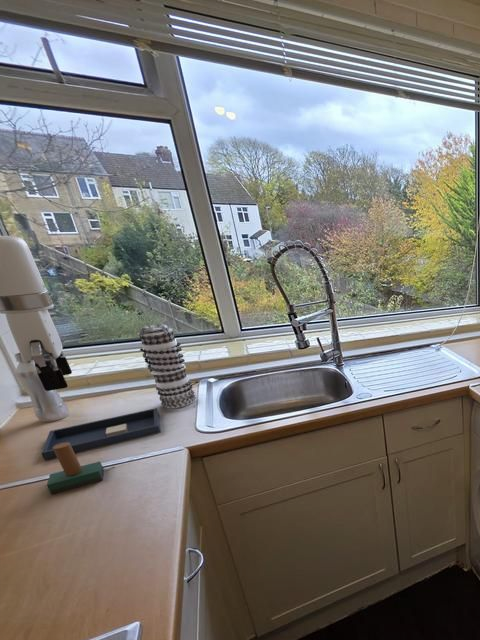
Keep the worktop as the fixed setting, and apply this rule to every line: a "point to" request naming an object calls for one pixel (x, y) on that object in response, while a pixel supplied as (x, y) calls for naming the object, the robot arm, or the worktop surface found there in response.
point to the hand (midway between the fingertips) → (59, 381)
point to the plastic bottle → (40, 393)
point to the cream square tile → (116, 430)
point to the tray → (102, 432)
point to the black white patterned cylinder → (166, 366)
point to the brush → (72, 471)
